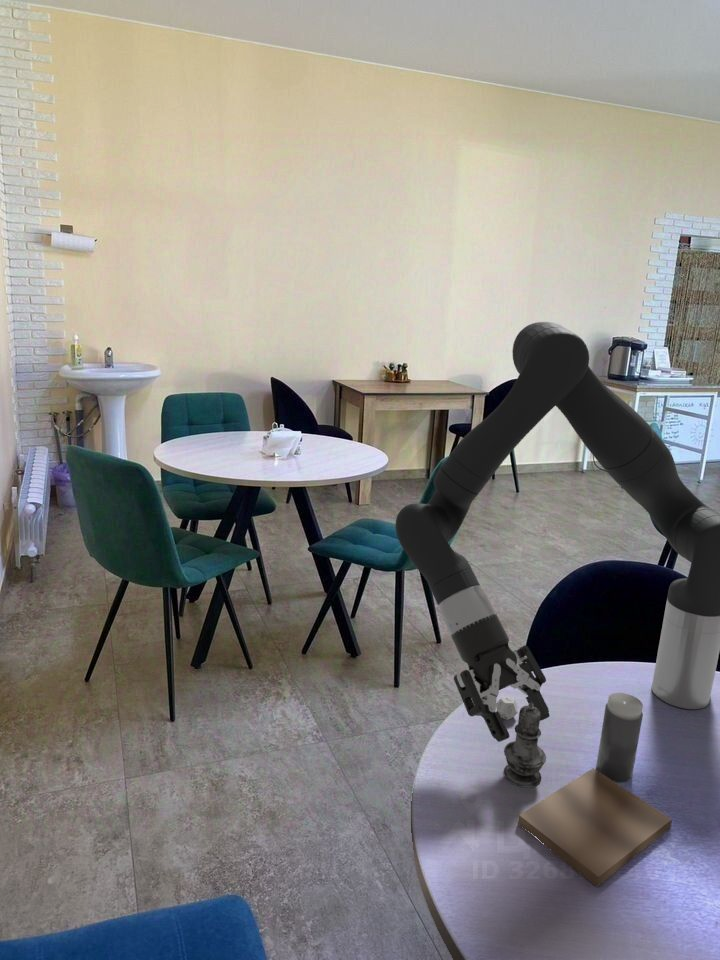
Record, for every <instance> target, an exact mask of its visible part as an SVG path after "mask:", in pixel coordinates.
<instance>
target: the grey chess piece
mask: <svg viewBox="0 0 720 960" xmlns="http://www.w3.org/2000/svg"><path fill="white" fill-rule="evenodd" d="M540 723H541V721H540V711H539V710H538V709H537V708H536V707H534V706H533V703H532V702H530V703H528V705H524V706H522V707H521V708H519V711H518V720H517V724H516V725H515V726H514V731H515V740H514V741H511V742H509V743H507V744H506V745H505V746H504V749H503V754H504V757H505V760H506V764H507V765H505V767H504V768H503V775H504V777H505V779H506V780H507V781H508V782H509V783H510V784H512V785H514V786H517V787H518V788H524V789H530V787H531V788H536V787H537V786H538V785H539V784H540V783H541V782H542V774H541V773H540V771H541V769H542V768H543V766H544V765H545V764H546V762H547V755H546V753H545V751H544V750H543V749H542V748H541V747H540V746H538V742H539V738H540V737H541V735H542V730H541V729H540Z"/></svg>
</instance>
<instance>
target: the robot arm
mask: <svg viewBox="0 0 720 960" xmlns="http://www.w3.org/2000/svg"><path fill="white" fill-rule="evenodd" d="M511 351H512V352H511V353H512V361H513V364H514V367H515V369H516V372H518V374H519V375H518V376H517V378H516V380H515V382H514V383H513V386H512V388H511V389H510V390H509V392H508V394H506V396H505V397H504V398H503V400H502V401H501V402H500V403H499V405H498V406H497V407H496V408H495V409H494V410H493V411H492V412H491V413H490V414H489V415H487V417H485V418H484V419H483V420H482V421H480V423H478V424H477V425H476V426H475V427H473V428H472V429H471V430H470V431H469V432H468V433H466V435H465V436H464V437H462V439H461V440H460V441H459V442H458V444H457V445H456V446H455V447H454V448H453V450H452V451H451V453H450V454H449V455H448V457H447V458H446V460H445V461H444V462H443V464H442V465H441V466H440V468H439V469H438V471H437V473H436V474H435V476H434V478H433V485H434V488H435V491H434V493H433V495H432V497H431V498H430V499H429V501H428V502H427V503H419V502H418V503H417V502H416V503H414V502H413V503H410V504H407V505H405V506H403V507H402V508H401V509H400V510H399V512H398V513H397V514H396V515H397V516H396V518H395V524H394V525H395V532H396V536H397V539H398V541H399V544H400V546H401V548H402V549H403V551H404V552H405V554H406V555H407V557H408V558H409V559H410V561H411V562H412V563H413V565H414V566H415V568H416V569H417V570H418V571H419V572H420V574H421V575H422V576H423V577H424V579H425V580H426V582H427V584H428V588H429V589H430V591H431V593H432V595H433V597H434V600H435V602H436V604H437V605H438V609H439V610H440V614H441V617H442V620H443V622H444V625H445V626H446V629H447V631H448V633H449V635H450V637H451V639H452V641H453V643H454V645H455V648H456V650H457V652H458V654H459V656H460V658H461V660H462V661H463V662H464V663H466V664H467V666H468V669H464V670H462V671H460V672H459V673H457V674H455V675H453V681H454V684H455V685H456V688H457V691H458V693H459V695H460V698H461V700H462V703H463V705H464V707H465V710H466V712H467V715H468V716H469V717H474V716H475V717H477V716H478V717H482V718H483V719H484V722H485V724H486V726H487V728H488V730H489V732H490V735H491V737H492V738H493V739H494V740H496V741H497V742H499V743H501V742H503V741H506V740H507V739H509V738H510V733H509V731H508V728H507V726H506V724H505V722H504V720H503V718H501V716H500V714H499V712H498V711H497V709H496V703H497V698H498V697H499V693H500V691H501V690H503V689H506V688H508V687H511V688H513V689H517V690H518V691H520V692H521V693H522V694H524V695H525V696H526V697H525V699H526V701H527V703H528V704H529V703H530V702H532V703H533V706H534V707H536V708H537V709H538V710H539V711H540V722H541V721H543V720H546V719H548V718H550V710H549V707H548V705H547V703H546V701H545V699H544V697H543V695H542V694H541V691H540V690H541V687H542V686H543V684H544V683H546V682H547V678H546V676H545V675H544V673H543V671H542V669H541V667H540V666H539V664H538V662H537V660H536V658H535V656H534V654H533V653H532V651H531V649H530V648H529V647H528V646H527V645H523V646H520V647H519V648H516V650H512V649H511V648H510V646H509V642H510V639H509V636H508V634H507V631H506V630H505V628H504V626H503V625H502V622H501V620H500V618H499V617H498V616H499V615H497V613H496V610H495V608H494V606H493V604H492V602H491V601H490V598H489V597H488V596H487V593H486V592H485V591H484V589H483V588H482V586H481V585H480V582H479V580H478V578H477V576H476V574H475V573H474V571H473V569H472V567H471V565H470V563H469V561H468V560H467V558H465V556H463V555H462V554H460V553H458V552H456V551H455V550H454V549H453V548H452V546H451V545H450V544H449V543H450V541H452V539H453V538H455V536H456V534H457V533H458V532H459V530H460V528H461V526H462V524H463V523H464V520H465V519H466V516H467V514H468V512H469V509H470V507H471V504H472V503H473V501H474V500H475V499H476V497H478V495H479V494H480V493H481V491H482V490H483V488H484V487H485V486H486V485H487V484H488V482H489V480H490V479H491V478H492V477H493V475H494V474H495V473H496V472H497V470H498V469H499V468H500V466H501V465H502V464H503V462H505V460H506V458H508V456H509V455H510V454H511V453H512V452H513V450H514V449H515V448H516V447H517V446H519V444H520V443H521V441H522V440H523V439H524V438H525V437H526V436H527V435H528V434H529V433H530V432H531V431H532V430H533V429H534V428H535V427H536V426H537V425H538V424H539V423H540V422H541V420H542V419H544V418H545V416H547V415H548V414H549V412H551V411H552V410H553V409H554V408H555V407H556V408H557V409H558V410H559V411H560V412H561V414H562V415H563V416H564V418H566V419H567V421H568V423H569V425H570V426H571V427H572V429H573V430H574V432H575V433H576V434H577V436H578V438H579V439H580V440H581V442H582V443H583V444H584V445H585V447H586V448H587V450H588V451H589V452H590V453H591V454H592V456H593V457H594V458H595V460H596V461H597V462H598V464H600V466H601V467H602V468H603V470H605V472H606V473H608V475H609V476H610V477H611V478H612V479H613V481H615V483H617V484H618V485H619V486H620V487H621V488H622V489H623V490H624V491H625V492H626V493H627V494H628V496H630V497H631V498H632V499H633V500H634V501H635V502H637V503H638V504H639V505H640V506H641V507H642V508H643V509H644V510H645V511H646V512H647V513H648V514H649V516H650V517H651V519H652V520H653V521H654V523H655V524H656V526H657V528H658V529H660V532H661V533H662V535H663V536H664V537H665V539H666V540H667V542H668V544H669V545H670V546H671V548H672V549H673V550H674V551H675V552H676V553H677V554H678V555H679V556H681V557H683V558H684V559H685V560H687V562H690V568H689V572H688V575H687V578H686V577H684V578H678V579H675V580H673V581H672V582H671V583H670V585H669V588H668V591H667V592H668V593H667V598H666V604H665V607H664V608H665V610H664V615H663V621H662V626H661V627H662V628H661V631H660V639H659V643H658V649H657V656H656V662H655V667H654V671H653V677H652V683H651V691H652V692H653V694H654V695H655V696H656V697H657V698H659V700H661V701H663V702H665V703H667V704H669V705H671V706H674V707H677V708H681V709H685V710H700V709H703V708H706V707H707V706H708V705H709V703H710V699H711V694H712V690H713V685H714V680H715V676H716V671H717V665H718V660H719V655H720V512H719V511H716V510H714V509H712V508H710V507H709V506H708V505H706V504H705V503H704V502H702V501H701V500H700V499H699V498H698V497H697V496H696V495H695V494H694V493H693V492H692V491H691V490H690V489H689V488H688V487H687V486H686V485H685V484H684V482H683V481H682V480H681V478H680V476H679V474H678V470H677V467H676V462H675V460H674V457H673V454H672V452H671V451H670V448H669V447H668V446H667V444H666V443H665V441H663V439H662V438H661V437H660V436H659V434H657V432H656V431H655V430H654V429H653V428H652V426H651V425H650V424H649V423H648V422H647V421H646V420H645V418H643V417H642V415H640V414H639V413H638V412H637V411H636V410H635V409H634V408H633V407H632V406H630V404H628V403H627V402H626V401H625V400H624V399H622V398H621V397H620V396H619V395H618V394H617V393H615V392H614V391H613V390H611V389H610V388H609V387H608V386H607V385H606V384H605V383H603V382H602V381H601V380H600V379H599V377H598V376H597V375H596V374H595V372H593V370H592V369H591V367H590V366H589V364H590V353H589V349H588V346H587V344H586V342H585V341H584V340H583V338H582V337H580V336H579V335H578V334H576V333H574V332H573V331H571V330H570V329H568V328H566V327H564V326H562V325H561V324H558V323H555V322H549V321H537V322H533V323H530V324H528V325H526V326H524V327H523V328H522V329H521V330H520V331H519V332H518V334H517V335H516V337H515V339H514V342H513V345H512V350H511ZM475 683H477V685H476V684H475Z"/></svg>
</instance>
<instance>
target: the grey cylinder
mask: <svg viewBox="0 0 720 960" xmlns="http://www.w3.org/2000/svg"><path fill="white" fill-rule="evenodd" d="M643 707H644V705H643V702H642V701H641V700H640V699H639V698H638V697H636V696H634V695H632V694H630V693H625V692H614V693H611V694H610V695H609V696H608V699H607V703H606V704H605V709H604V714H603V719H602V720H603V721H602V726H601V727H602V728H601V731H600V732H601V733H600V739H599V740H600V741H599V745H598V752H597V759H596V766H595V767H596V770H597V771H599V772H600V773H602V774H603V775H605V776H606V777H608V778H609V779H611V780H613V781H614V782H616V783H625V782H628V781H630V780H632V778H633V773H634V767H635V763H636V756H637V750H638V745H639V739H640V735H641V728H642V721H643V718H644V717H643V716H644V714H643Z"/></svg>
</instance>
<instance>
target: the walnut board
mask: <svg viewBox="0 0 720 960" xmlns="http://www.w3.org/2000/svg"><path fill="white" fill-rule="evenodd" d="M672 820H673V818H672V817H669V816H668V815H667V814H665V813H664V812H662V811H661V810H659V809H657V808H656V807H654V806H652V804H650V803H648V802H646V801H645V800H644V799H642V798H640V797H639V796H638V795H636V794H634V793H633V792H631V791H629V790H628V789H626V788H625V787H623V785H621V784H619V783H618V782H616V781H613V780H611V779H609V778H608V777H606V776H605V775H603V774H602V773H600V772H599V771H598V770H597V768H596V769H595V768H594V767H592V768H591V769H589V770H588V771H586V772H584V773H583V774H582V775H579V776H578V777H577V778H575V779H573V780H572V781H570V782H569V783H567V784H565V785H564V786H562V787H561V788H559V789H558V790H556V791H554V792H553V793H551V794H550V795H548V796H547V797H545V798H544V799H542V800H541V801H538V802H537V803H536V804H534V805H532V806H531V807H529V808H527V809H526V810H524V811H523V812H521V813H520V814H518V821H517V825H518V824H519V825H520V826H521V827H520V826H519V825H518V826H519V827H520V828H522V827H523V828H524V829H526V830H527V831H529V832H530V833H532V834H533V835H534V836H536V837H537V838H538V839H539V840H540V841H541V842H542V843H544V845H546V846H547V847H548V848H549V849H551V850H552V851H553V852H554V853H555V856H557V857H558V856H559V857H560V858H559V857H558V858H559V859H560V860H562V859H563V860H564V861H563V860H562V861H563V862H565V863H566V864H567V865H568V866H569V867H570V868H572V869H573V870H574V871H576V872H577V873H579V874H580V875H581V876H582V877H583V878H585V879H586V880H587V881H588V882H590V883H591V884H592V885H593V886H595V887H596V888H598V887H599V886H601V884H603V883H604V882H605V881H607V880H608V879H609V878H610V877H612V876H613V875H614V874H615V873H617V872H618V871H619V870H620V869H621V868H623V867H624V866H625V865H626V864H628V863H629V862H631V860H633V859H634V858H636V857H637V856H638V855H639V854H640V853H641V852H642V851H645V850H646V849H647V848H648V847H649V846H650V845H652V844H653V843H655V841H657V840H658V839H659V838H660V837H661V836H663V835H664V834H665V833H667V832H668V831H669V830H671V826H672ZM523 828H522V829H523ZM524 829H523V830H524ZM527 831H526V832H527ZM541 842H540V843H541ZM542 843H541V844H542ZM544 845H543V846H544ZM546 846H545V847H546ZM547 847H546V848H547ZM548 848H547V849H548ZM549 849H548V850H549ZM551 850H550V851H551ZM552 851H551V852H552ZM553 852H552V853H553ZM554 853H553V854H554Z"/></svg>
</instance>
